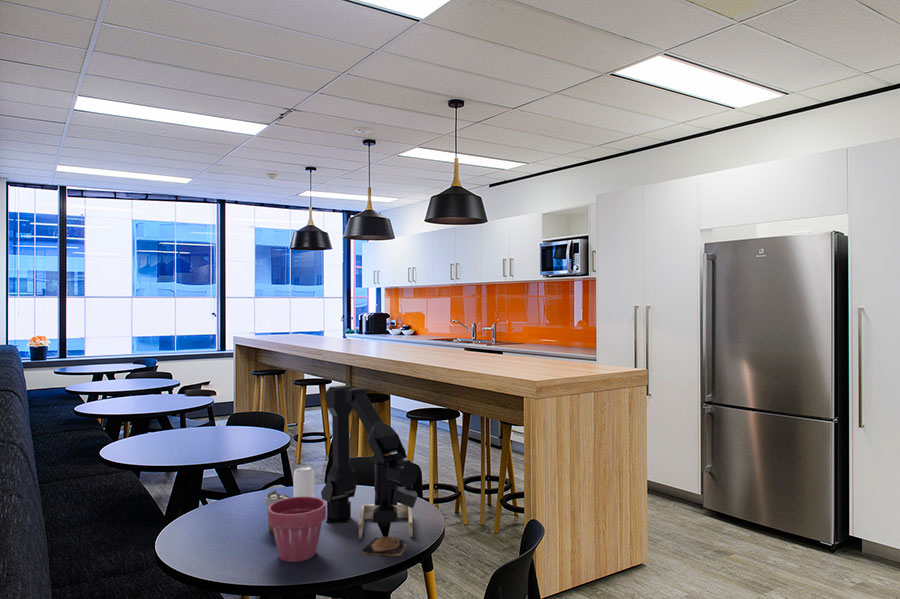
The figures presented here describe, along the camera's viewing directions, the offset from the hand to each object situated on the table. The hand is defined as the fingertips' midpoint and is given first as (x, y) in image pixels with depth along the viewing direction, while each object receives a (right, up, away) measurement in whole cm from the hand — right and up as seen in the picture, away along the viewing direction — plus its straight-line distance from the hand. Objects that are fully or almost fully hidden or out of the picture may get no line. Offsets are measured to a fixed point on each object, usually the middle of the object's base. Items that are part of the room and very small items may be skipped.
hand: (385, 537), depth 164 cm
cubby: (-1, -1, +11) cm, 11 cm away
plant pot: (-22, -1, -8) cm, 23 cm away
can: (-29, -2, +31) cm, 43 cm away
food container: (-31, -2, +8) cm, 32 cm away
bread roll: (0, -2, -5) cm, 5 cm away
